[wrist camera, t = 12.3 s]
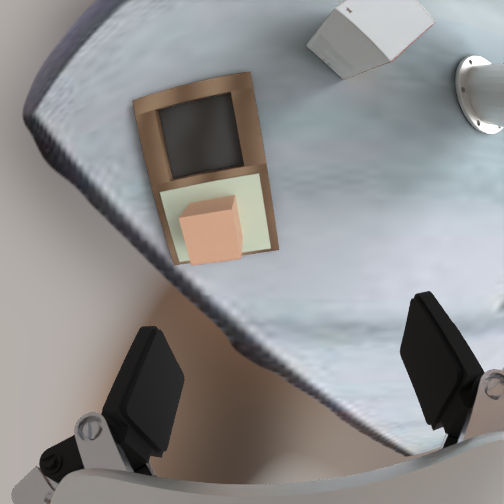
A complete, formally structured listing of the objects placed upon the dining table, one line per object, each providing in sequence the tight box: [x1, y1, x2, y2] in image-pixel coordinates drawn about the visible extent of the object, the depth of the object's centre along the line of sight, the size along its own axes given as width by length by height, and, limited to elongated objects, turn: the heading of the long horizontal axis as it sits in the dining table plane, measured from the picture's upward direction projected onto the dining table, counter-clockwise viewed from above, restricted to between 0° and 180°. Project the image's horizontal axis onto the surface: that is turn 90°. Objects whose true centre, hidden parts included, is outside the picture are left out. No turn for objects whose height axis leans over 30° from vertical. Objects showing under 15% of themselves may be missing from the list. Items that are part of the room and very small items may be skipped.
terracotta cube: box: [179, 195, 243, 265], centre depth 32 cm, size 6×6×6 cm
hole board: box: [133, 72, 279, 265], centre depth 32 cm, size 14×22×2 cm, turn 9°
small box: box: [306, 0, 436, 80], centre depth 20 cm, size 8×6×13 cm
